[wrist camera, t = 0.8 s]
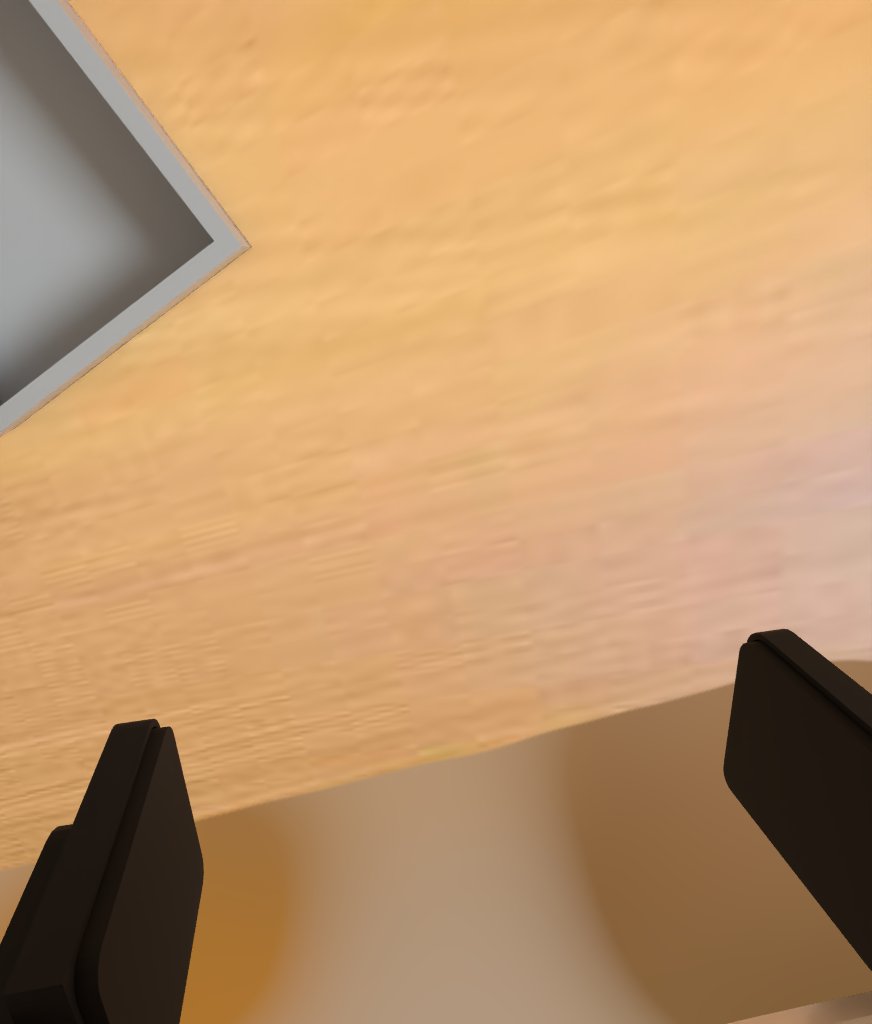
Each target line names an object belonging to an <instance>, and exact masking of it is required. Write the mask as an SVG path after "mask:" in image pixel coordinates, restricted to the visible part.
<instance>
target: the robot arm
mask: <svg viewBox="0 0 872 1024" xmlns="http://www.w3.org/2000/svg"><path fill="white" fill-rule="evenodd" d="M724 776H725V780H726V782H727V785H728V786H729V788H730V790H731V791H732V793H733V794H734V795H735V796H736V798H737V799H738V800H739V802H740V803H741V804H742V805H743V807H744V808H745V809H746V811H747V812H748V813H749V814H750V816H751V817H752V818H753V820H754V821H755V822H756V823H757V825H758V826H759V827H760V829H761V830H762V831H763V832H764V834H765V835H766V836H767V838H768V839H769V840H770V841H771V843H772V844H773V845H774V847H775V848H776V849H777V850H778V851H779V853H780V854H781V855H782V857H783V858H784V859H785V861H786V862H787V863H788V864H789V866H790V867H791V868H792V870H793V871H794V872H795V874H796V875H797V876H798V877H799V879H800V880H801V881H802V883H803V884H804V885H805V886H806V887H807V889H808V890H809V892H810V893H811V894H812V895H813V897H814V898H815V899H816V901H817V902H818V903H819V904H820V906H821V907H822V908H823V910H824V911H825V912H826V913H827V915H828V916H829V917H830V919H831V920H832V921H833V922H834V924H835V925H836V926H837V928H838V929H839V930H840V931H841V933H842V934H843V935H844V937H845V938H846V939H847V940H848V942H849V943H850V944H851V946H852V947H853V948H854V949H855V951H856V952H857V953H858V955H859V956H860V957H861V958H862V960H863V961H864V962H865V964H866V965H867V966H868V967H869V969H870V970H871V971H872V694H870V693H869V692H868V691H866V690H865V689H864V688H863V687H861V686H860V685H859V684H858V683H856V682H855V681H854V680H853V679H851V678H850V677H849V676H848V675H846V674H845V673H844V672H843V671H841V670H840V669H839V668H837V667H836V666H835V665H834V664H832V663H831V662H830V661H829V660H827V659H826V658H825V657H824V656H822V655H821V654H820V653H819V652H817V651H816V650H815V649H814V648H812V647H811V646H810V645H808V644H807V643H806V642H805V641H803V640H802V639H801V638H800V637H798V636H797V635H796V634H795V633H793V632H792V631H790V630H788V629H779V630H772V631H765V632H758V633H754V634H752V635H750V637H749V638H748V640H747V643H745V644H743V645H742V646H741V648H740V651H739V658H738V665H737V673H736V680H735V687H734V694H733V701H732V709H731V716H730V723H729V730H728V738H727V746H726V752H725V759H724ZM203 870H204V869H203V858H202V853H201V849H200V844H199V840H198V836H197V832H196V827H195V823H194V819H193V814H192V810H191V806H190V801H189V797H188V793H187V789H186V784H185V780H184V776H183V771H182V767H181V763H180V759H179V754H178V750H177V746H176V741H175V737H174V733H173V730H172V728H171V727H162V728H160V725H159V723H158V721H157V720H156V719H149V720H142V721H135V722H128V723H121V724H116V725H115V726H114V727H113V729H112V730H111V733H110V735H109V737H108V740H107V742H106V745H105V747H104V750H103V752H102V754H101V757H100V759H99V762H98V764H97V767H96V769H95V771H94V774H93V776H92V779H91V781H90V784H89V786H88V788H87V791H86V793H85V796H84V798H83V801H82V803H81V805H80V808H79V810H78V813H77V815H76V818H75V820H74V822H73V824H71V825H65V826H59V827H57V828H56V829H54V830H53V831H52V832H51V834H50V836H49V837H48V839H47V841H46V843H45V845H44V847H43V850H42V852H41V854H40V856H39V859H38V861H37V863H36V865H35V868H34V870H33V872H32V874H31V877H30V879H29V881H28V883H27V886H26V888H25V890H24V892H23V895H22V897H21V899H20V901H19V904H18V906H17V908H16V910H15V912H14V915H13V917H12V919H11V921H10V924H9V926H8V928H7V930H6V933H5V936H4V937H3V940H2V942H1V944H0V1024H179V1022H180V1016H181V1011H182V1004H183V999H184V993H185V987H186V980H187V975H188V969H189V963H190V957H191V951H192V945H193V939H194V933H195V927H196V921H197V915H198V909H199V903H200V898H201V891H202V885H203V874H204V871H203ZM728 1024H872V991H870V992H866V993H861V994H857V995H852V996H848V997H843V998H839V999H834V1000H830V1001H826V1002H821V1003H816V1004H812V1005H808V1006H804V1007H798V1008H794V1009H790V1010H785V1011H781V1012H776V1013H772V1014H767V1015H763V1016H758V1017H754V1018H750V1019H746V1020H741V1021H737V1022H732V1023H728Z"/></svg>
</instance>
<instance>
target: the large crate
mask: <svg viewBox="0 0 872 1024" xmlns="http://www.w3.org/2000/svg"><path fill="white" fill-rule="evenodd" d="M249 248H251V245H250V244H249V243H248V241H247V240H246V239H245V237H244V236H243V235H242V233H241V232H240V231H239V229H238V228H237V227H236V225H235V224H234V223H233V221H232V220H231V219H230V217H229V216H228V215H227V213H226V212H225V211H224V209H223V208H222V207H221V205H220V204H219V203H218V201H217V200H216V199H215V197H214V196H213V195H212V193H211V192H210V191H209V189H208V188H207V187H206V185H205V184H204V183H203V181H202V180H201V179H200V177H199V176H198V175H197V173H196V172H195V171H194V169H193V168H192V167H191V165H190V164H189V163H188V161H187V160H186V159H185V157H184V156H183V155H182V153H181V152H180V151H179V149H178V148H177V147H176V145H175V144H174V143H173V141H172V140H171V139H170V137H169V136H168V135H167V133H166V132H165V131H164V129H163V128H162V127H161V125H160V124H159V123H158V121H157V120H156V119H155V117H154V116H153V115H152V113H151V112H150V111H149V109H148V108H147V107H146V105H145V104H144V103H143V101H142V100H141V99H140V97H139V96H138V95H137V93H136V92H135V91H134V89H133V88H132V87H131V85H130V84H129V83H128V81H127V80H126V79H125V77H124V76H123V75H122V73H121V72H120V71H119V69H118V68H117V67H116V65H115V64H114V63H113V61H112V60H111V59H110V57H109V56H108V55H107V53H106V52H105V51H104V49H103V48H102V47H101V45H100V44H99V43H98V41H97V40H96V39H95V37H94V36H93V35H92V33H91V32H90V31H89V29H88V28H87V27H86V25H85V24H84V23H83V21H82V20H81V19H80V17H79V16H78V15H77V13H76V12H75V11H74V9H73V8H72V7H71V5H70V4H69V2H68V1H67V0H0V437H1V436H3V435H4V434H6V433H8V432H9V431H11V430H13V429H14V428H16V427H17V426H19V425H20V424H21V423H23V422H24V421H25V420H26V419H28V418H29V417H30V416H32V415H33V414H34V413H36V412H37V411H38V410H39V409H41V408H42V407H43V406H45V405H46V404H47V403H49V402H50V401H51V400H53V399H54V398H55V397H56V396H58V395H59V394H60V393H62V392H63V391H64V390H66V389H67V388H68V387H69V386H71V385H72V384H73V383H75V382H76V381H77V380H79V379H80V378H81V377H83V376H84V375H85V374H86V373H88V372H89V371H90V370H92V369H93V368H94V367H96V366H97V365H98V364H99V363H101V362H102V361H103V360H105V359H106V358H107V357H109V356H110V355H111V354H112V353H114V352H115V351H116V350H118V349H119V348H120V347H122V346H123V345H124V344H126V343H127V342H128V341H129V340H131V339H132V338H133V337H135V336H136V335H137V334H139V333H140V332H141V331H142V330H144V329H145V328H146V327H148V326H149V325H150V324H152V323H153V322H154V321H156V320H157V319H158V318H159V317H161V316H162V315H163V314H165V313H166V312H167V311H169V310H170V309H171V308H172V307H174V306H175V305H176V304H178V303H179V302H180V301H182V300H183V299H184V298H185V297H187V296H188V295H189V294H191V293H192V292H193V291H195V290H196V289H197V288H199V287H200V286H201V285H202V284H204V283H205V282H206V281H208V280H209V279H210V278H212V277H213V276H214V275H215V274H217V273H218V272H219V271H221V270H222V269H223V268H225V267H226V266H227V265H229V264H230V263H231V262H232V261H234V260H235V259H236V258H238V257H239V256H240V255H242V254H243V253H244V252H245V251H247V250H248V249H249Z"/></svg>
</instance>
